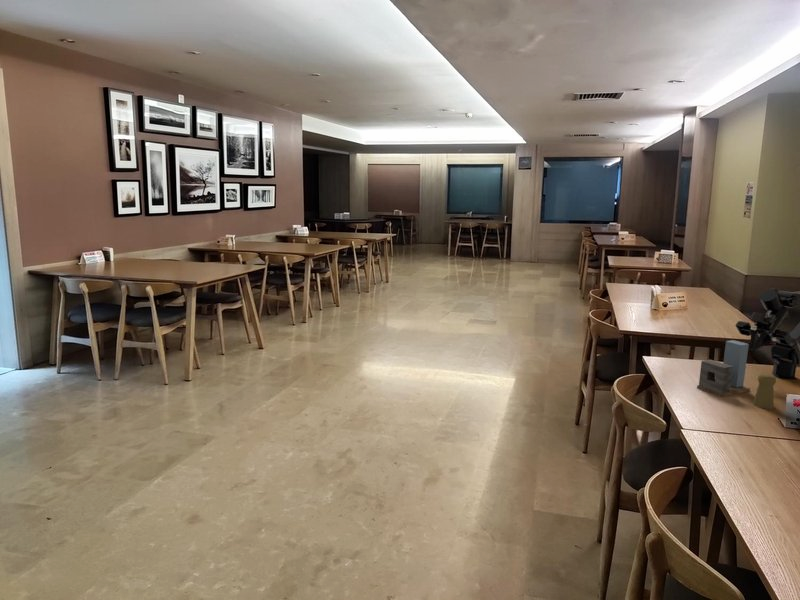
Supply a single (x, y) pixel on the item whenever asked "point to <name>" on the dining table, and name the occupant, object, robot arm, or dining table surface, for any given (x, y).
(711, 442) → the dining table surface
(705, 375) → the bearing stand
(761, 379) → the olive flared post
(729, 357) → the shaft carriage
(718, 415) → the dining table surface
